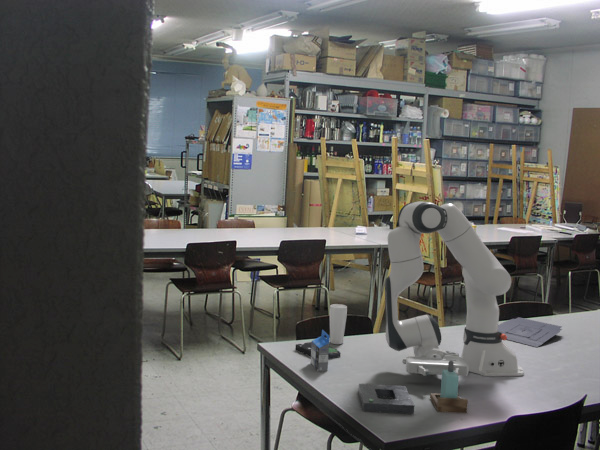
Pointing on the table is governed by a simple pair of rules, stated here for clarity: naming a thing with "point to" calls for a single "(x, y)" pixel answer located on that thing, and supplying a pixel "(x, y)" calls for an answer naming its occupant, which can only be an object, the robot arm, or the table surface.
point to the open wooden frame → (449, 404)
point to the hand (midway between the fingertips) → (441, 374)
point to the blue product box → (320, 352)
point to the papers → (528, 331)
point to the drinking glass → (337, 323)
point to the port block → (397, 404)
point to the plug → (449, 382)
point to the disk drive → (306, 350)
